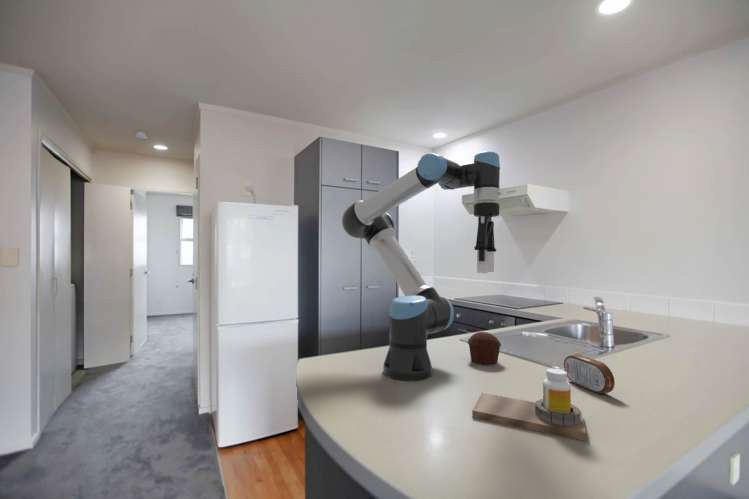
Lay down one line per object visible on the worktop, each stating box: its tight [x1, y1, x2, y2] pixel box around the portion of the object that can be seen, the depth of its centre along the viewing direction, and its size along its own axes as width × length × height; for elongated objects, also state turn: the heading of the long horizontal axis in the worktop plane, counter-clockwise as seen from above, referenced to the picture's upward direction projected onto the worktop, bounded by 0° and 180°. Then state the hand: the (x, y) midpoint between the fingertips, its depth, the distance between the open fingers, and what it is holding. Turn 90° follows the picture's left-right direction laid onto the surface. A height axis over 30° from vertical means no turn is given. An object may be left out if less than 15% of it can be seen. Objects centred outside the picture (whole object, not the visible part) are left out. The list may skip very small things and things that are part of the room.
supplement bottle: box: [542, 368, 572, 413], centre depth 77 cm, size 5×5×10 cm
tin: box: [563, 353, 616, 395], centre depth 99 cm, size 15×3×8 cm, turn 15°
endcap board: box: [471, 392, 587, 442], centre depth 79 cm, size 22×12×4 cm, turn 64°
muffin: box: [467, 331, 502, 366], centre depth 123 cm, size 12×11×10 cm
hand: (485, 272), depth 108 cm, fingers open, 13 cm apart
